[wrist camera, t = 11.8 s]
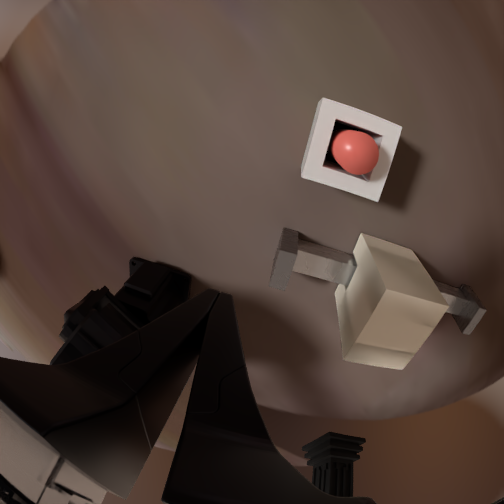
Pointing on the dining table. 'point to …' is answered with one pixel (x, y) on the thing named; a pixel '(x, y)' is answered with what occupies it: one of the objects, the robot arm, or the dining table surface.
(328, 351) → the dining table surface
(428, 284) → the carriage
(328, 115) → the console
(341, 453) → the black fluted column
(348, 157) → the plunger
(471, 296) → the rail
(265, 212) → the dining table surface
